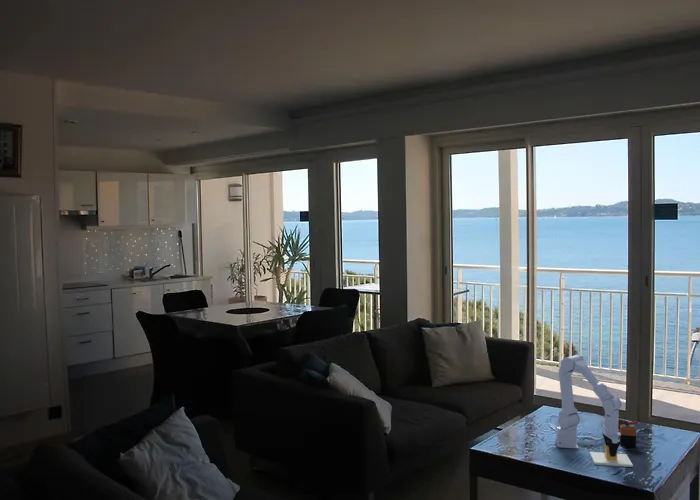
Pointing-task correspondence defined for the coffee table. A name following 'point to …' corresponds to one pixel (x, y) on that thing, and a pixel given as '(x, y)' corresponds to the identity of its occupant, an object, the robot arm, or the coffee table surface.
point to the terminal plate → (601, 460)
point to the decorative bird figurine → (624, 423)
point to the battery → (628, 435)
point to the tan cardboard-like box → (609, 454)
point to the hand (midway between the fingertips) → (610, 452)
